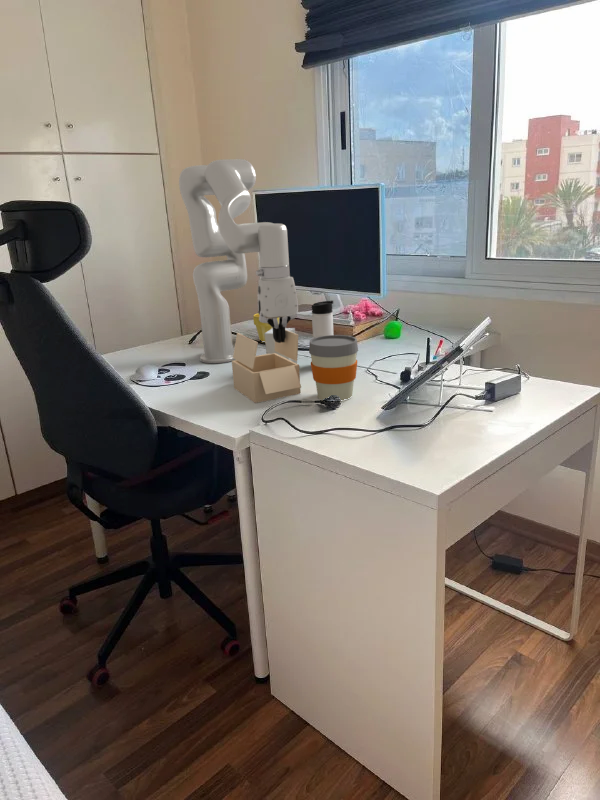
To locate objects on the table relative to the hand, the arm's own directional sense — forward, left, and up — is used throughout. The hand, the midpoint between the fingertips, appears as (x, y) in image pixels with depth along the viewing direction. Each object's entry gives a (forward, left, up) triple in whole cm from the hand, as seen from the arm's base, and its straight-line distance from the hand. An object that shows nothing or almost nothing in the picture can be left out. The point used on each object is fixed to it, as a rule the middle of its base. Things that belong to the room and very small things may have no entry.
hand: (279, 341), depth 163 cm
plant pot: (-54, +20, -13) cm, 59 cm away
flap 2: (0, +2, -1) cm, 2 cm away
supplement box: (-15, +7, -13) cm, 21 cm away
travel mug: (-12, +20, -13) cm, 27 cm away
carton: (0, -5, -13) cm, 14 cm away
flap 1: (0, -10, -1) cm, 10 cm away
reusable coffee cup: (+15, +8, -13) cm, 22 cm away
